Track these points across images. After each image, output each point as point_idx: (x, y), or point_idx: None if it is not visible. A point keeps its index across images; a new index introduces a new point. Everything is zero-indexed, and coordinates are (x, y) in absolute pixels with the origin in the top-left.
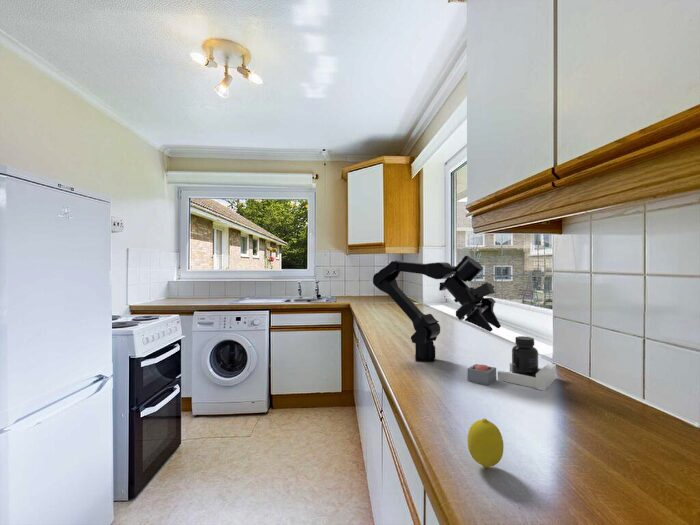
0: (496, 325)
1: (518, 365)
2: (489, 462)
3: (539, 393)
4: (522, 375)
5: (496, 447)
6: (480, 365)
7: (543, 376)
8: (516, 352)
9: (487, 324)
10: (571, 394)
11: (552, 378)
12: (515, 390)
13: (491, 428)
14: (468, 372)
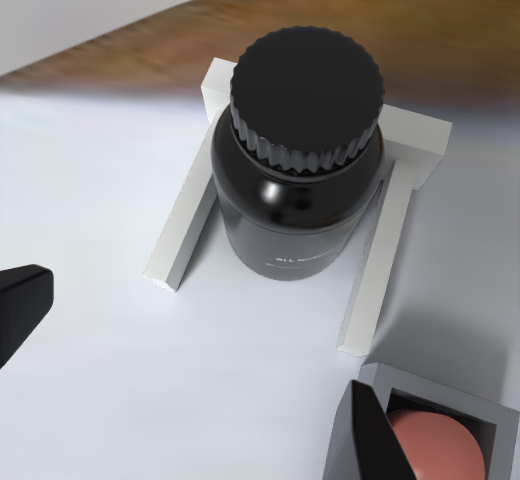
0: (21, 324)
1: (355, 226)
2: None
3: (469, 183)
4: (392, 224)
5: None
6: (421, 473)
7: (450, 128)
8: (366, 203)
9: (410, 475)
10: (417, 79)
11: None
12: (484, 275)
13: None
14: None
